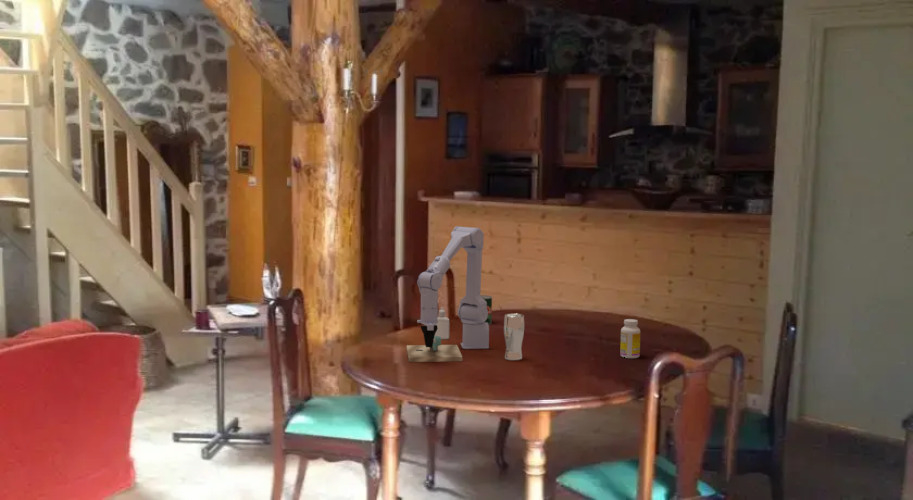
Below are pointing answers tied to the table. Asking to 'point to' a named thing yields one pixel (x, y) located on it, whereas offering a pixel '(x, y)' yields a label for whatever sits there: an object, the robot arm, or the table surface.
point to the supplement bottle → (630, 339)
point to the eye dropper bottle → (442, 325)
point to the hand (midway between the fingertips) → (428, 347)
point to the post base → (433, 353)
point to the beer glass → (513, 335)
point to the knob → (436, 342)
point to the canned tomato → (488, 308)
